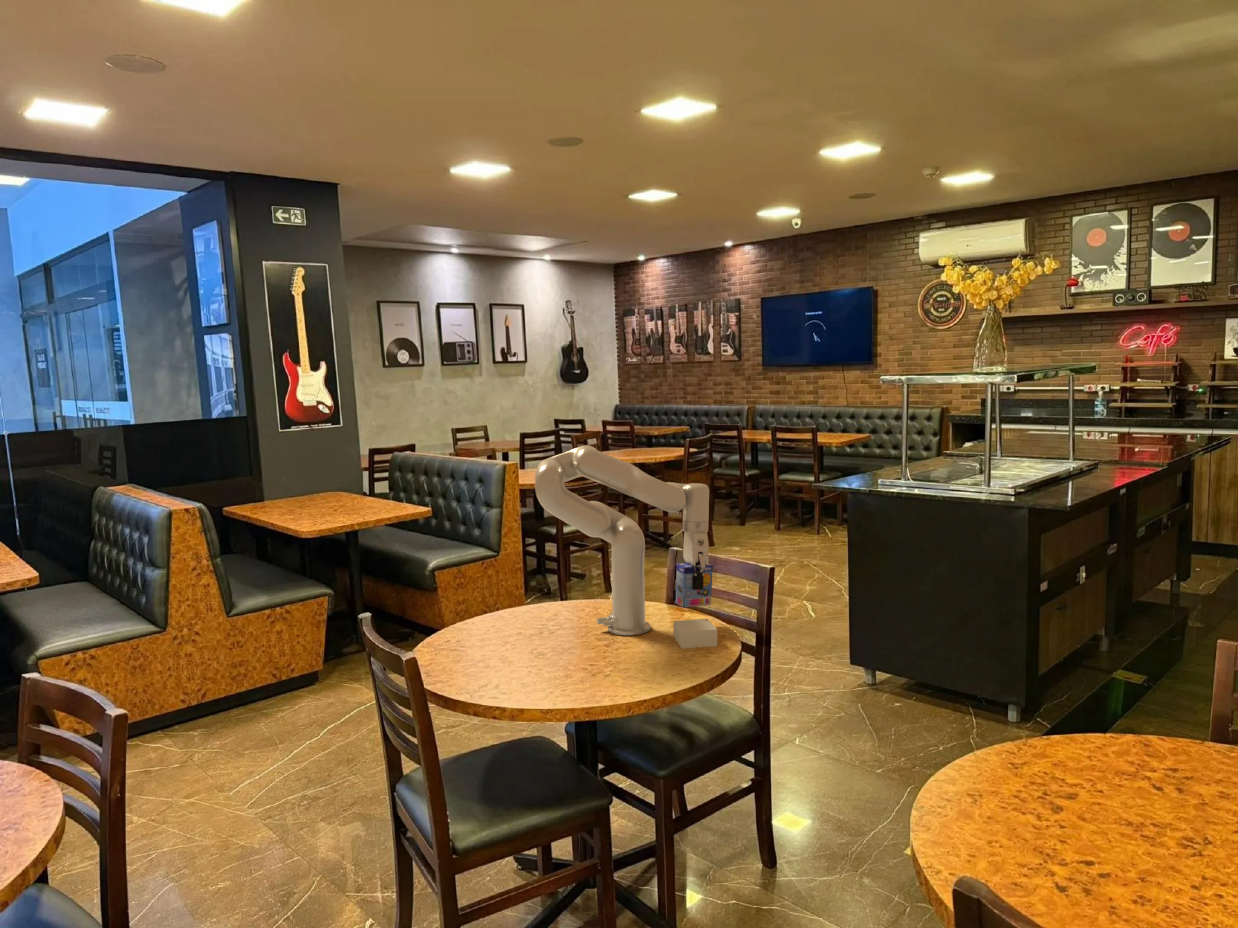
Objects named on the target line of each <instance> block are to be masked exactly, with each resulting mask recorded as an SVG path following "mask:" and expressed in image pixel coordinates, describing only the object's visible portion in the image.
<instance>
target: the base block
mask: <svg viewBox="0 0 1238 928" xmlns="http://www.w3.org/2000/svg"><path fill="white" fill-rule="evenodd" d="M673 638H674V640H675V639H676V640H675V641H676V642H678V643H677V644H678V646H679V647H680V648H681V650H682V649H694V648H695V647H698V648H709V647H710V648H711V647H718V629H717V628H716V626H715V625H714V624H713V623H712V622H711V620H709V618H701V619H699V618H698V619H686V620H685V619H684V620H673ZM695 649H696V648H695Z"/></svg>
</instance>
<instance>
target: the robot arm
mask: <svg viewBox="0 0 1238 928" xmlns="http://www.w3.org/2000/svg"><path fill="white" fill-rule="evenodd" d="M534 476H535V477H534V490H535V495H536V498H537V500H538V503H539V504H540V506H541V507H542V508H543V509H544V510H545V511H546V512H548V513H549V514H551V515H552V516H554V517H555V518H557V519H559V520H561V521H562V522H564V523H565V524H567V525H569V526H571V527H572V528H573V529H574V528H575V529H576V530H578V531H580V532H582V533H583V534H584V535H586V536H588V537H590V538H600V539H602V540H604V541H606V542H607V543H609V544H610V545H611V546H610V547H611V596H612V600H611V601H612V602H611V603H612V612H609V615H607V616H606V617H597V618H596V624H597V626H598V625H602V626H603V627H604V626H605V627H606V626H607V630H608V631H609V633H611V634H614V635H619V636H637V635H643V634H645V633H647V632H650V631H651V629H652V627H651V624H650V622H649V621H647V620H646V601H645V599H646V597H645V596H646V594H645V593H646V591H645V590H646V589H645V588H646V586H645V554H646V553H645V552H646V544H645V542H646V541H645V535H644V533H643V531H642V529H641V528H640V526H639V524H637V522H636V521H635V520H633V519H632V518H631V517H628V516H627V515H624V514H623V513H621V512H619V511H618V510H615V509H613V507H610V506H608V505H606V504H605V503H604V502H600V501H597V500H590V501H589V500H587V499H584V498H583V497H581V496H579V495H578V494H576V493H573V492H572V491H570V490H569V489H568V488H567V487H566V486H565V483H566V482H569V481H571V480H575V479H576V478H580V477H584V478H586V479H588V480H591V481H594V482H597V483H598V484H600V485H601V484H602V485H604V486H607V488H608V487H609V488H611V489H613V490H615V491H618V492H620V493H622V494H624V495H627V496H629V497H633V498H634V499H637V500H640V501H641V502H643V503H645V504H648V505H651V506H652V507H655V508H658V509H660V510H662V511H665V512H669V513H677V512H680V511H682V532H684V533H683V546H682V547H683V550H682V551H683V553H682V555H683V556H682V557H683V560H684V563H687V562H688V563H689V564H690V565H692V566H693V572H694V576H693V579H692V589H693V590H697V589H703V580H704V569H705V566H707V565H708V563H709V540H708V539H709V538H708V532H709V519H710V518H709V513H710V512H709V511H710V510H709V509H710V508H709V507H710V488H709V486H708V485H707V484H706V483H699V482H698V483H697V482H696V483H695V482H692V483H679V482H672V481H671V482H670V481H667V482H665V481H663V480H661V479H658V478H656V477H654V476H652V475H649V474H648V473H646V472H644V471H643V470H641V469H640V468H639V467H637V466H636V465H633V464H632V463H629V462H627V461H624V460H622V459H619V458H616V457H614V456H613V455H612V456H611V455H609V454H607V453H604V452H603V451H599V450H597V448H595V447H594V446H592V445H581V446H578V447H575V448H572V449H570V450H567V451H565V452H562V453H559V454H557V455H556V454H555V455H553V456H550V457H549V458H545V459H543V460H542V461H540V463H538V465H537V467H536V470H535V475H534ZM706 555H708V556H706ZM696 563H699V565H696ZM696 568H698V569H697V571H696Z"/></svg>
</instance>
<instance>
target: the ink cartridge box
mask: <svg viewBox="0 0 1238 928" xmlns="http://www.w3.org/2000/svg"><path fill="white" fill-rule="evenodd" d="M696 565H699V563H696ZM713 568H714V565H713V564H711V563H708V565H707V566H705V569H704V580H703V589H697V590H693V589H692V579H693V576H694V572H693V566H692V565H690V564H689V563H688V562H687V563H685V562H679V563H676V577H675V578H676V579H675V580H676V581H675V604H676V605H678V606H680V607H681V608H683V609H684V608H692V607H702V606H710V605H712V593H713V592H712V591H713V574H714V573H713V571H714V569H713ZM697 569H698V568H696V571H697Z"/></svg>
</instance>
